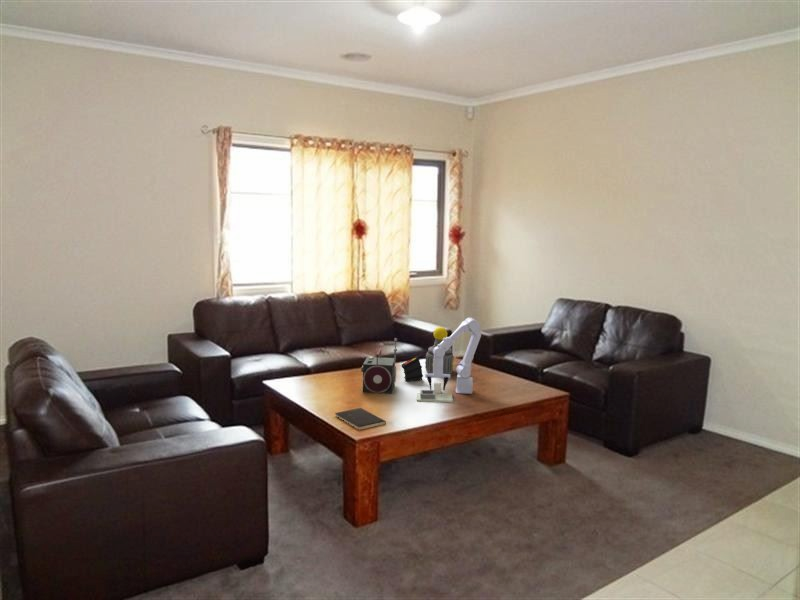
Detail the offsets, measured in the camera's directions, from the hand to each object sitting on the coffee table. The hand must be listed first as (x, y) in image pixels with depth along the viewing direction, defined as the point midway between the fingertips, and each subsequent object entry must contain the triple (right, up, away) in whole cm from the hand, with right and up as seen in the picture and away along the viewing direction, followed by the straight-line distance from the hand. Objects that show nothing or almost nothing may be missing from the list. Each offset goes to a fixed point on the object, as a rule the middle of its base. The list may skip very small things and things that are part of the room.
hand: (437, 389), depth 347 cm
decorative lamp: (+4, +5, +46) cm, 46 cm away
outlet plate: (-2, -3, -11) cm, 11 cm away
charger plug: (0, -2, 0) cm, 2 cm away
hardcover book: (-42, -9, -47) cm, 64 cm away
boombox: (-34, -1, +5) cm, 34 cm away
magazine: (-14, +2, +23) cm, 28 cm away
